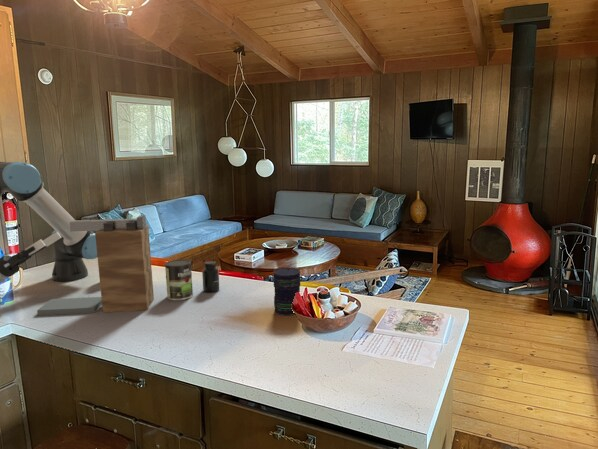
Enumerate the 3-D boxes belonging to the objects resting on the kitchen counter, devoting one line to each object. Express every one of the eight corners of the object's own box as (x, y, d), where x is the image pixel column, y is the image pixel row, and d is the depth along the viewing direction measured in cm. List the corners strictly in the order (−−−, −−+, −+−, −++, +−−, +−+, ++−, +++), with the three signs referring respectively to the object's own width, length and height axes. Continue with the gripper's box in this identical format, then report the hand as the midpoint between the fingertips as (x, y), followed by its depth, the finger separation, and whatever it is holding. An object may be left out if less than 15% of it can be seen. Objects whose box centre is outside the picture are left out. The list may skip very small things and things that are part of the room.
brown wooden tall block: (112, 301, 182) (104, 219, 176) (153, 299, 184) (147, 217, 178) (102, 312, 170) (94, 224, 164) (147, 309, 172) (140, 223, 166)
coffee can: (198, 295, 188) (196, 261, 185) (178, 302, 179) (175, 267, 177) (182, 290, 194) (180, 258, 191) (161, 297, 186) (159, 263, 183)
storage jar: (297, 316, 163) (297, 275, 161) (271, 314, 165) (270, 274, 163) (303, 306, 173) (302, 268, 170) (277, 305, 175) (276, 267, 172)
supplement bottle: (217, 292, 190) (216, 264, 188) (201, 293, 190) (199, 264, 188) (221, 287, 197) (219, 260, 195) (205, 287, 197) (203, 260, 195)
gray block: (51, 304, 180) (51, 299, 180) (104, 301, 182) (104, 296, 181) (37, 315, 168) (37, 310, 168) (94, 312, 170) (93, 307, 170)
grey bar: (74, 229, 172) (73, 217, 172) (146, 226, 175) (145, 215, 174) (69, 231, 167) (68, 219, 167) (143, 229, 170) (142, 217, 169)
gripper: (26, 267, 183) (71, 239, 182) (-10, 287, 158) (42, 255, 158) (13, 252, 181) (59, 223, 181) (-24, 269, 157) (28, 236, 156)
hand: (51, 238), depth 169 cm, fingers open, 13 cm apart
